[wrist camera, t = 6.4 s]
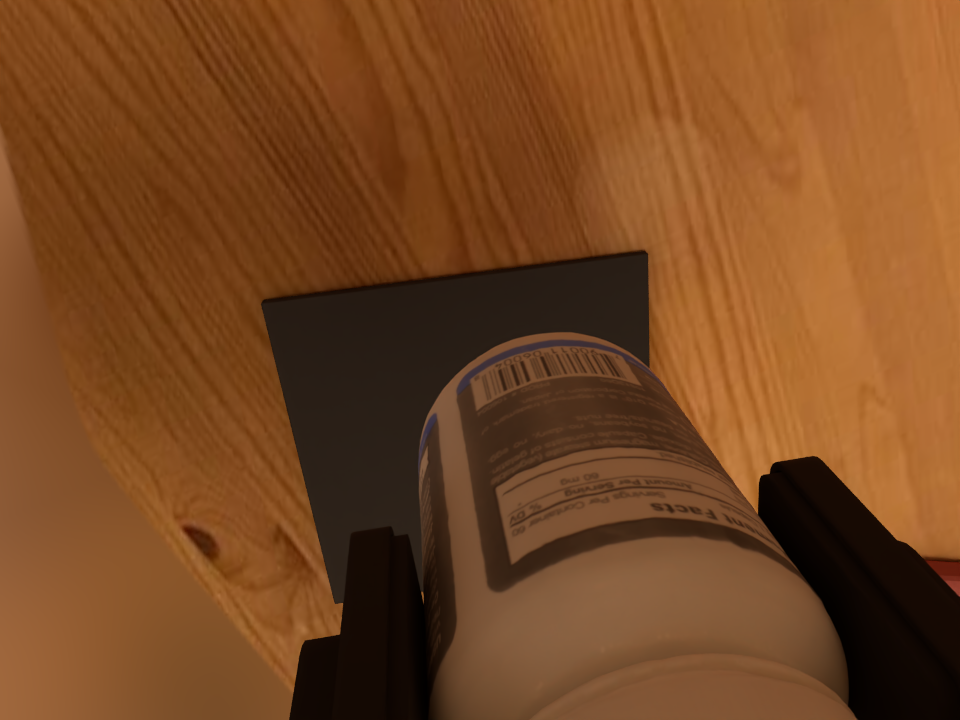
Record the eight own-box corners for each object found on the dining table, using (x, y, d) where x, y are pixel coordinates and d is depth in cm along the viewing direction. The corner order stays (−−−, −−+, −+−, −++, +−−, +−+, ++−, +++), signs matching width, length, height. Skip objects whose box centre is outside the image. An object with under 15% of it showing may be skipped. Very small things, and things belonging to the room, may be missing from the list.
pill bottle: (572, 581, 15) (741, 1144, 8) (370, 483, 14) (329, 1052, 6) (724, 403, 14) (1117, 876, 6) (515, 274, 12) (694, 681, 5)
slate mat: (335, 597, 33) (334, 604, 33) (262, 299, 27) (260, 303, 27) (649, 553, 33) (652, 559, 33) (645, 250, 27) (648, 253, 27)
